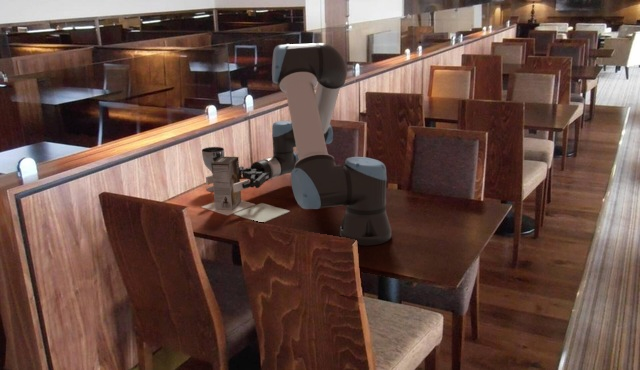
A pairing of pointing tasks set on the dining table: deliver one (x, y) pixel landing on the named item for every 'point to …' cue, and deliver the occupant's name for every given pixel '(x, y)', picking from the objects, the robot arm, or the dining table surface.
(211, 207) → the tile
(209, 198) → the dining table surface
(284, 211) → the set down mat
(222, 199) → the coffee box
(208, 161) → the wine glass
